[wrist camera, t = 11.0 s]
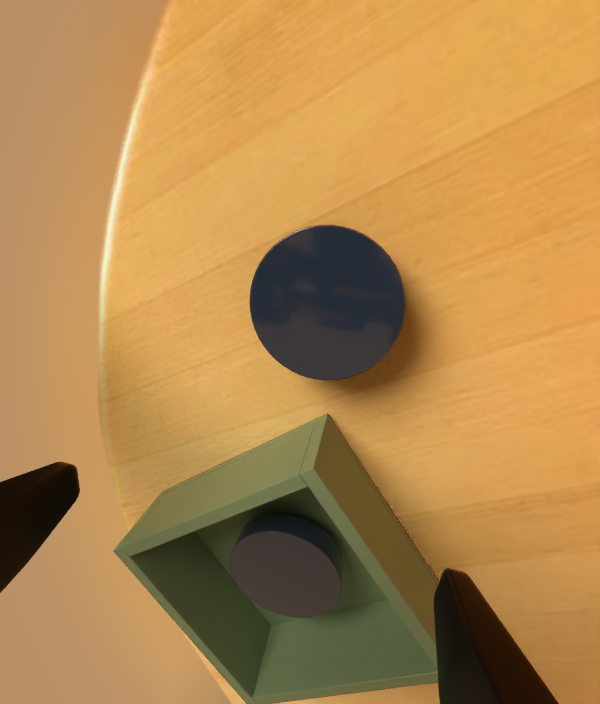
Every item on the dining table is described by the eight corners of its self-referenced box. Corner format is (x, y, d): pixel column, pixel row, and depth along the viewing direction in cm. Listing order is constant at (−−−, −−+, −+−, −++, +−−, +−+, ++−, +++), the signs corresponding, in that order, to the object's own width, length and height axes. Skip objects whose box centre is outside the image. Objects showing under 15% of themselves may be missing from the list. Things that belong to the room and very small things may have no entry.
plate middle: (310, 383, 19) (301, 403, 17) (240, 277, 18) (220, 282, 16) (427, 322, 17) (435, 336, 15) (354, 194, 16) (351, 187, 13)
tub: (270, 625, 27) (248, 707, 23) (162, 491, 25) (112, 551, 20) (442, 586, 22) (460, 680, 18) (327, 412, 20) (313, 467, 15)
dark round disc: (279, 590, 25) (269, 627, 22) (224, 519, 24) (207, 550, 21) (365, 567, 22) (364, 605, 20) (307, 486, 21) (299, 517, 19)
